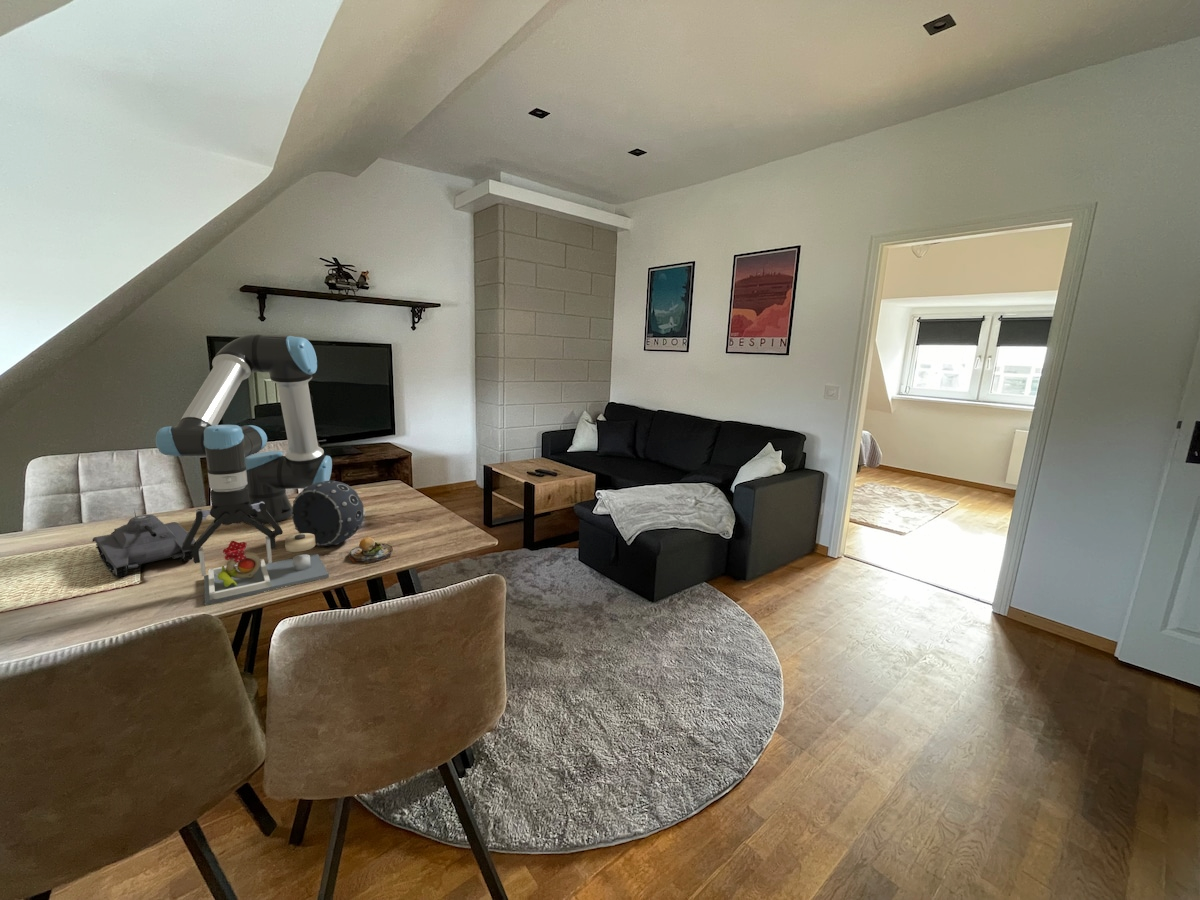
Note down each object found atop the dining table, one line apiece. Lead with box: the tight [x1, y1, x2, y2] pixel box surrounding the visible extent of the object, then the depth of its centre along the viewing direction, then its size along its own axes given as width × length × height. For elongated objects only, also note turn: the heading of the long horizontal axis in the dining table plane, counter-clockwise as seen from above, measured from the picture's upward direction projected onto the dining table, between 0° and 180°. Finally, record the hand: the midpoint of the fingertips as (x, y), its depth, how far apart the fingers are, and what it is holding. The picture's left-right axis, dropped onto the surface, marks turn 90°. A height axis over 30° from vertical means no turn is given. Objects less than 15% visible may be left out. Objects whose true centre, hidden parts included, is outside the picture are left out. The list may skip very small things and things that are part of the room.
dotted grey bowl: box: [291, 480, 365, 547], centre depth 150 cm, size 11×20×20 cm, turn 78°
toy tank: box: [92, 508, 196, 578], centre depth 134 cm, size 18×25×15 cm
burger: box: [348, 535, 393, 564], centre depth 144 cm, size 12×12×8 cm
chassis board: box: [203, 552, 330, 606], centre depth 127 cm, size 16×26×4 cm, turn 129°
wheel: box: [284, 533, 317, 553], centre depth 131 cm, size 7×7×3 cm
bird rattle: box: [218, 540, 261, 587], centre depth 123 cm, size 6×11×9 cm
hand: (237, 567), depth 123 cm, fingers open, 13 cm apart
